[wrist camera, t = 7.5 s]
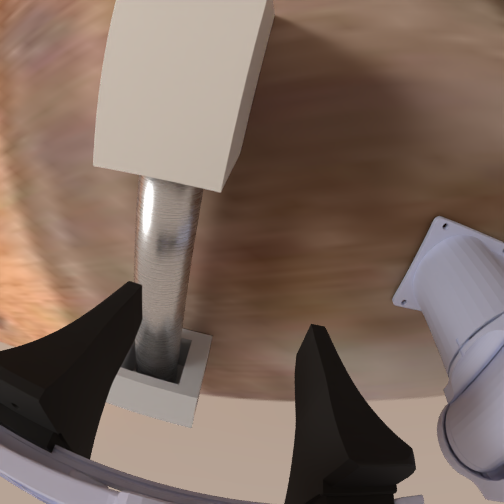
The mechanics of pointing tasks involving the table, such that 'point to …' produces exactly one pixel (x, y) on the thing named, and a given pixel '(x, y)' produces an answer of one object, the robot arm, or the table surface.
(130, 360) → the socket
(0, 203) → the table surface
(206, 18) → the sleeve
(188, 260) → the tube
